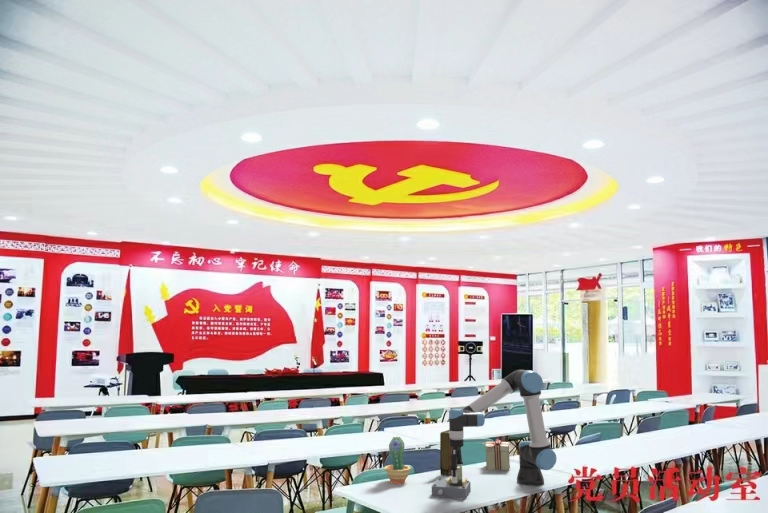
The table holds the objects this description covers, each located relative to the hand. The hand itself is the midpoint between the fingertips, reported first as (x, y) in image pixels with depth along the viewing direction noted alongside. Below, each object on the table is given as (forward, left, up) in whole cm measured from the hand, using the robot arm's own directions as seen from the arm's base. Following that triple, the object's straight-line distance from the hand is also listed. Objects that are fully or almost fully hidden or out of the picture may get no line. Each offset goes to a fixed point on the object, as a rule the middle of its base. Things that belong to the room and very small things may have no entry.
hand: (456, 479), depth 302 cm
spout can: (0, 0, -4) cm, 4 cm away
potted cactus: (+37, -15, -7) cm, 41 cm away
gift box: (-13, -70, -7) cm, 72 cm away
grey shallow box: (+3, +1, -7) cm, 8 cm away
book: (+12, -46, -7) cm, 48 cm away
